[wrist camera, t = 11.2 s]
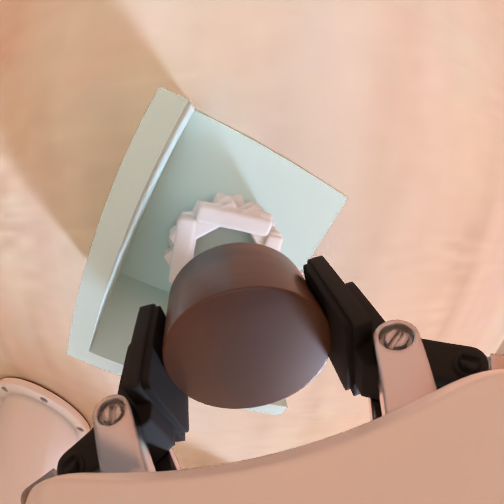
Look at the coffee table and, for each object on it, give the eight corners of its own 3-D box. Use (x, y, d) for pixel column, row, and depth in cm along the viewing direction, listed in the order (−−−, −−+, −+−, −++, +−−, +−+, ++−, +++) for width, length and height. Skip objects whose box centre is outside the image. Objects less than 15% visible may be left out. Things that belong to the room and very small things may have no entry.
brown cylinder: (171, 354, 12) (168, 409, 9) (167, 238, 10) (155, 284, 7) (291, 352, 13) (310, 402, 10) (317, 244, 11) (353, 286, 8)
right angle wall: (256, 335, 22) (279, 415, 15) (102, 276, 18) (66, 354, 11) (347, 198, 18) (418, 243, 12) (178, 102, 14) (159, 86, 8)
